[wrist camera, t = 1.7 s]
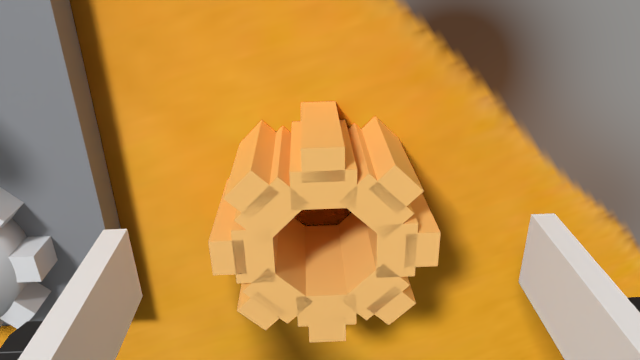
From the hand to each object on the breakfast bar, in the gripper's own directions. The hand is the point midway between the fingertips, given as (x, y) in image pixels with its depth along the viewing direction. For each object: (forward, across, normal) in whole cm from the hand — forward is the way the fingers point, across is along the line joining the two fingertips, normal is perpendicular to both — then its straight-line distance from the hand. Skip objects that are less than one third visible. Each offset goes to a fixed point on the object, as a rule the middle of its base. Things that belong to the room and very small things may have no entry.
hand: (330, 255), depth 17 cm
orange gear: (+6, 0, +1) cm, 6 cm away
